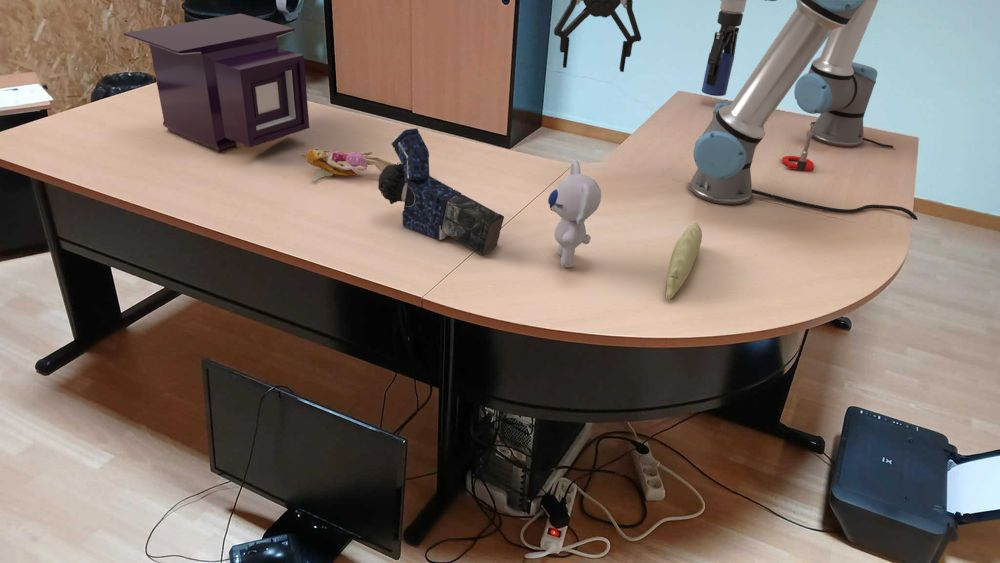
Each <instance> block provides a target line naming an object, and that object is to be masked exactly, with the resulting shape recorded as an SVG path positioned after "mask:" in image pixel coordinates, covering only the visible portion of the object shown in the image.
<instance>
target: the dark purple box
mask: <svg viewBox="0 0 1000 563" xmlns="http://www.w3.org/2000/svg"><path fill="white" fill-rule="evenodd" d="M294 31H295V28H294V27H292V26H287V25H283V24H279V23H276V22H272V21H269V20H264V19H262V18H259V17H256V16H255V17H254V16H252V15H247V14H244V13H235V14H230V15H224V16H217V17H212V18H205V19H200V20H194V21H188V22H181V23H175V24H169V25H163V26H157V27H151V28H146V29H145V28H144V29H139V30H134V31H128V32H123V36H125V37H127V38H130V39H133V40H136V41H138V42H142V43H145V44H148V45H149V50H150V54H151V60H152V66H153V71H154V75H155V76H154V77H155V82H156V87H157V92H158V97H159V102H160V107H161V113H162V118H163V122H162V126H163V127H165V128H166V129H167V131H168V132H170V133H172V134H175V135H177V136H179V137H182V138H184V139H187V140H189V141H191V142H193V143H196V144H197V145H200V146H203V147H205V148H207V149H209V150H212V151H215V152H217V153H219V154H220V153H224V152H227V151H229V150H233V149H235V148H237V144H240V145H242V146H245V147H247V148H249V149H250V148H253V147H256V146H259V145H262V144H266V143H269V142H271V141H275V140H278V139H281V138H285V137H287V136H289V135H293V134H296V133H300V132H302V131H305V130H308V129H310V118H309V105H308V94H307V93H308V92H307V80H306V79H307V78H306V68H305V56H304V54H303V53H302V54H301V53H297V52H296V51H295V52H294V51H291V50H288V49H285V48H282V47H279V44H278V40H277V38H280V37H282V36H286V35H287V34H291V33H292V32H294Z"/></svg>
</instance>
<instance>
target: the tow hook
mask: <svg viewBox="0 0 1000 563" xmlns="http://www.w3.org/2000/svg"><path fill="white" fill-rule="evenodd" d="M813 128H814V125H813V124H812V125H811V126H810V129H809V131H808V132H807V135H806V140H805V143H804V145H803V149H802V151H801V153H800V156H798V155H797V156H796V155H785V156H783V157H782V158H781V162H782V163H783V164H785V165H786V166H787V169H791V170H797V171H809V172H813V171H814V168H815V167H814V162H813V161H812V160H810V159H808V155H809V148H810V145H811V141H812V139H813V137H812V135H813ZM792 161H797V162H796V163H795V162H792Z"/></svg>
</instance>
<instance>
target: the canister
mask: <svg viewBox="0 0 1000 563" xmlns="http://www.w3.org/2000/svg"><path fill="white" fill-rule="evenodd" d="M709 56H710V52H709V54H708V58H707V60H708V59H709ZM734 60H735V55H734V56H733V55H732V54H729V53H724V51H723V52H722V55H721V58H720V60H719V63H718V66H719V68H718V72H717V77H716V82H715V85H714V86H713V85H709V84H706V82H707V78H708V73H709V68H710V64H708V61H707V63H706V68H705V72H704V76H703V82H702V87H701V92H702V93H703V94H705V95H708V96H713V97H724V96H727V91H728V86H729V82H730V78H731V74H732V69H733V64H734ZM713 61H714V60H713Z"/></svg>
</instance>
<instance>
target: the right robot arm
mask: <svg viewBox="0 0 1000 563" xmlns="http://www.w3.org/2000/svg"><path fill="white" fill-rule="evenodd" d="M764 1H769V2H777V1H778V0H764ZM878 2H879V0H865V1H864V2H863V3H862V4H861V6H860V7H859V8H858V10H857V11H856V12H855V14H854V15H853V16H852V18H851V19H850V20H849V22H848V23H847V24H846V26H843V27H839V28H835V29H834V30H833V31H832V32H831V33H830V35H829V36H828V38H827V39H826V40H825V44H824V47H823V49H822V52H821V54H820V56H819V57H817V58H816V59H813V60H812V62H811V64H810V68H809V70H808V72H807V73H804V74H803V75H802V76H799V77H798V79H797V80H796V82H795V85H794V91H793V92H794V93H793V94H794V99H795V101H796V104H797V105H798V107H799V108H800V109H801V110H802V111H803V112H805V113H807V114H811V115H815V114H819V116H818V117H817V119H816V120H815V121H811V122H810V124H809V125H810V127H811V125H812V124H813V125H814V128H813V135H812V139H814V140H816V141H818V142H820V143H823V144H826V145H829V146H835V147H839V148H840V147H842V148H854V147H856V148H857V147H859V146H861V145H862V143H863V141H865V142H868V143H871V144H874V145H876V146H879V147H885V148H890V149H893V148H894V145H892V144H884V143H881V142H877V141H875V140H873V139H869V138H866V137H864V118H865V114H866V111H867V109H868V105H869V102H870V100H871V97H872V94H873V90H874V88H875V85H876V83H877V77H878V70H877V69H876V68H874V67H873V66H869V65H866V64H862V63H858V62H854V59H855V57H856V55H857V53H858V49H859V47H860V45H861V43H862V40H863V38H864V35H865V34H866V31H867V28H868V26H869V23H870V21H871V18H872V17H873V14H874V11H875V10H876V7H877V5H878ZM746 5H747V0H720V11H718V16H717V20H716V21H717V24H718V25H720V28H719V30H718V31H715V32H714V36H713V41H712V45H711V47H710V48H711V49H710V52H709V53H710V56H709V55H708V57H709V59H708V58H707V62H708V64H710V68H709V73H708V78H707V82H706V84H709V85H713V86H714V85H715V82H716V77H717V72H718V68H719V66H718V63H719V60H720V58H721V55H722V52H724V53H729V54H732V55H733V56H734V57H735V54H736V47H737V41H738V35H739V32H740V26H741V25H742V22H743V17H744V14H743V13H744V12H745V11H746V10H745V9H746ZM713 60H714V61H713Z"/></svg>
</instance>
